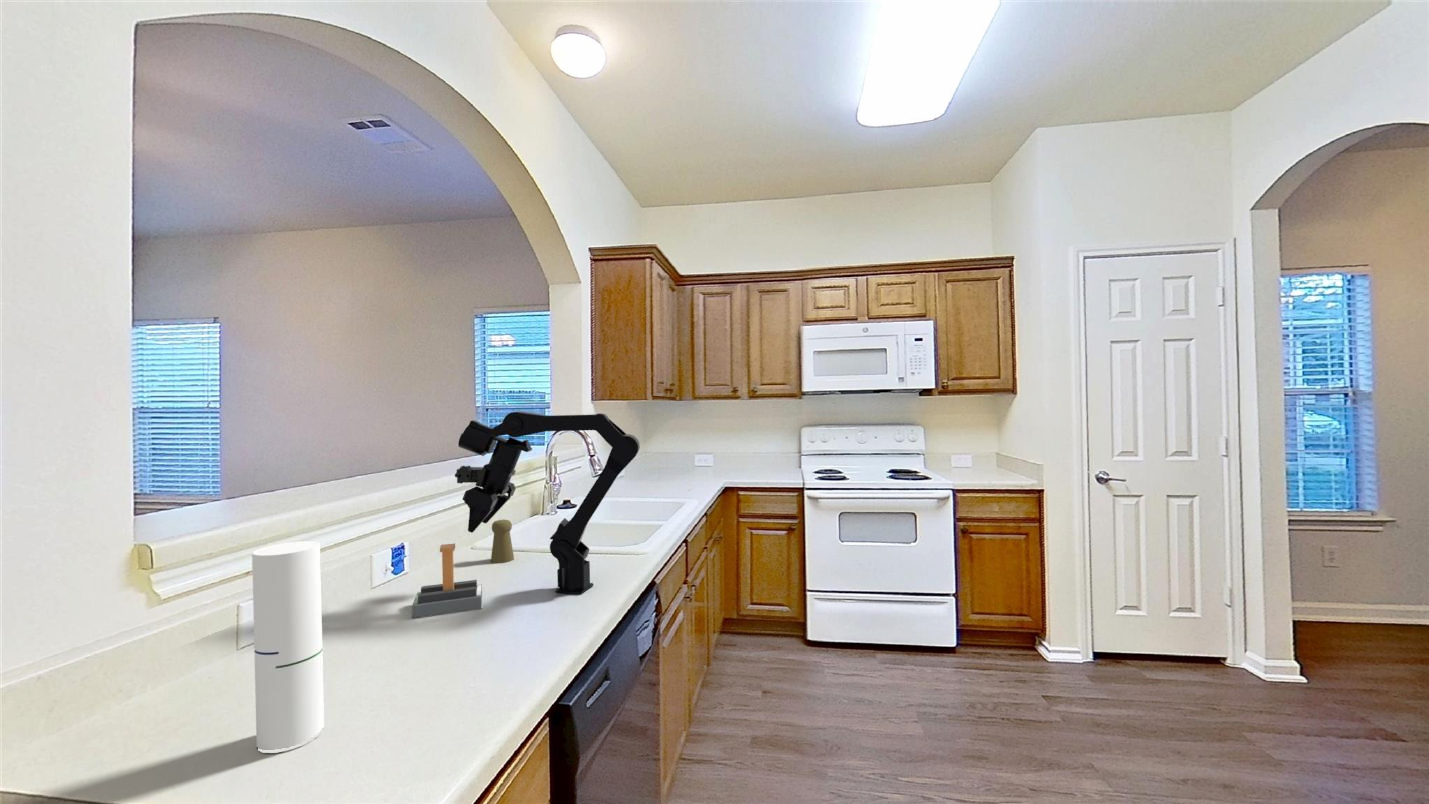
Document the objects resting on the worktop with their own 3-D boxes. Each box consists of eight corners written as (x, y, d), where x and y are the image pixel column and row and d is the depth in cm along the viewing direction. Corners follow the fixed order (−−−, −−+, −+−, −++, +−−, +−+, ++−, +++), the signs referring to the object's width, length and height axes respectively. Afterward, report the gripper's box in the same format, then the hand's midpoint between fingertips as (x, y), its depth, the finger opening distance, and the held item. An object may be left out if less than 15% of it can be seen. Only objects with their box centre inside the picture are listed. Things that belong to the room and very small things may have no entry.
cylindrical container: (280, 723, 79) (276, 542, 78) (335, 720, 79) (331, 540, 79) (242, 756, 71) (237, 556, 71) (302, 752, 72) (298, 554, 72)
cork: (506, 563, 154) (505, 522, 154) (486, 562, 155) (485, 522, 155) (518, 557, 160) (517, 518, 160) (498, 556, 161) (498, 517, 161)
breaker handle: (456, 590, 125) (455, 543, 125) (455, 595, 122) (454, 546, 122) (442, 592, 124) (441, 544, 124) (440, 597, 121) (439, 548, 121)
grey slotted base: (482, 595, 129) (481, 577, 129) (481, 608, 121) (480, 590, 121) (417, 603, 124) (417, 585, 124) (412, 618, 116) (411, 598, 116)
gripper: (482, 447, 140) (458, 507, 139) (453, 454, 121) (425, 523, 121) (526, 463, 140) (502, 522, 140) (503, 473, 122) (476, 542, 121)
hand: (477, 527), depth 131 cm, fingers open, 9 cm apart
